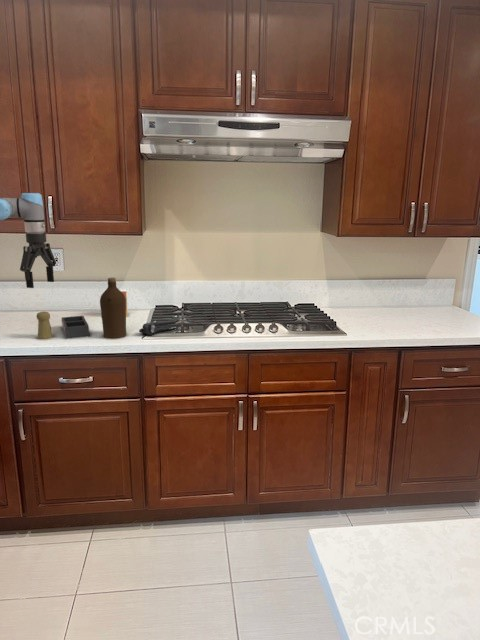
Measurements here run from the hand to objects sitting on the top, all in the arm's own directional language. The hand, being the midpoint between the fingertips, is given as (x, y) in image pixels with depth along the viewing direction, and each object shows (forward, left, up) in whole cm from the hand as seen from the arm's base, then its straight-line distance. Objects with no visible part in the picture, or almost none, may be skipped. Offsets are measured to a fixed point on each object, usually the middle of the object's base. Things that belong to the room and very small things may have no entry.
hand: (40, 284), depth 193 cm
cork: (0, -3, -22) cm, 22 cm away
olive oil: (+27, -11, -22) cm, 37 cm away
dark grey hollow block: (+12, +1, -22) cm, 25 cm away
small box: (+35, +22, -22) cm, 47 cm away
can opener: (+46, -13, -22) cm, 52 cm away
